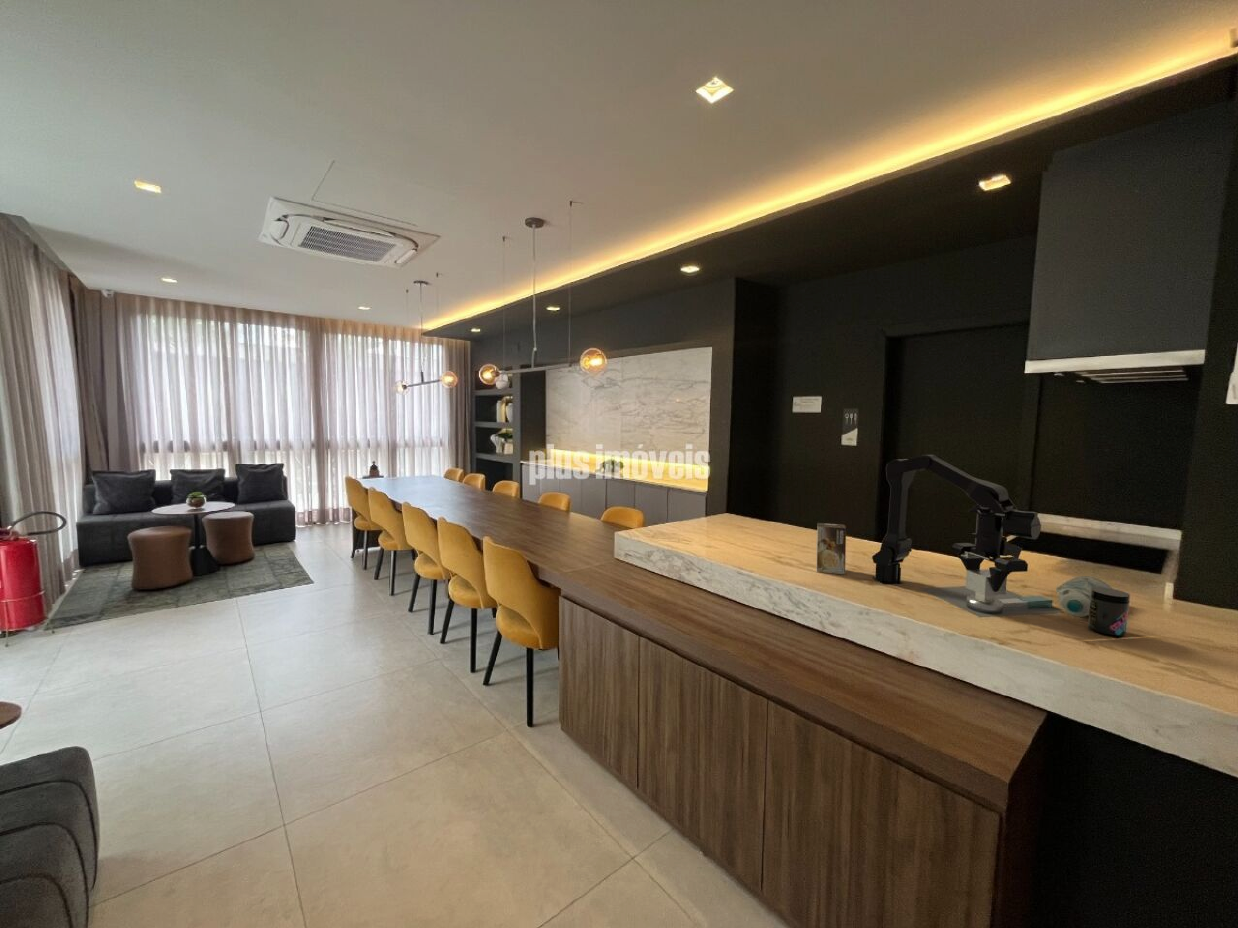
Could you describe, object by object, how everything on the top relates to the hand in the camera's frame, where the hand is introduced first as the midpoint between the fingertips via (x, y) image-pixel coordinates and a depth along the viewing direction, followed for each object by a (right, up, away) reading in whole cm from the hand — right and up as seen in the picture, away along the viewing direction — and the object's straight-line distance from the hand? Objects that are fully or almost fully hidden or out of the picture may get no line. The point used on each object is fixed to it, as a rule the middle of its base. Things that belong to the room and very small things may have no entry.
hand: (985, 587), depth 134 cm
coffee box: (-27, -3, +36) cm, 45 cm away
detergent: (+27, -7, +1) cm, 28 cm away
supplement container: (+19, -8, -14) cm, 25 cm away
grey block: (0, -1, 0) cm, 1 cm away
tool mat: (+6, -6, +7) cm, 11 cm away
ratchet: (+8, -6, +1) cm, 10 cm away
